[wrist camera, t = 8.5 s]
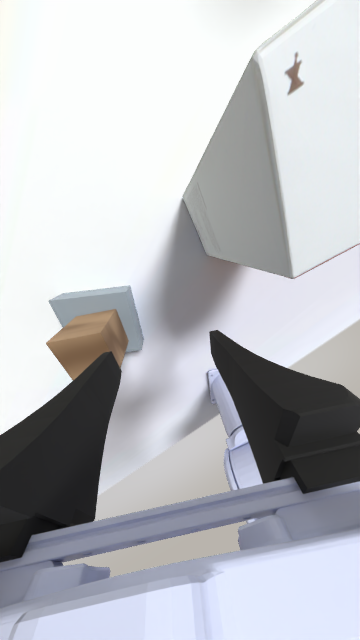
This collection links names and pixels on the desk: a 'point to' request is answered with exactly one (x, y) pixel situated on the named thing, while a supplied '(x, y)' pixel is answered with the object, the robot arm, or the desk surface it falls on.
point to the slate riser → (102, 309)
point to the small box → (287, 150)
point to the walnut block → (89, 341)
